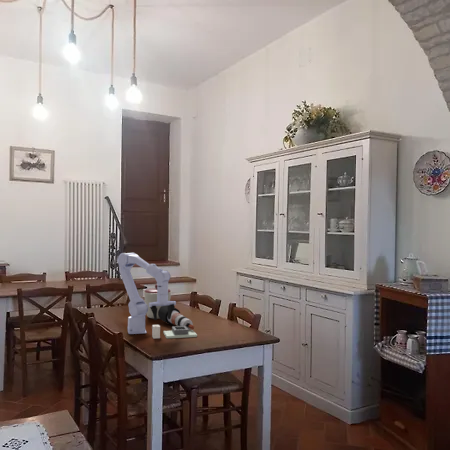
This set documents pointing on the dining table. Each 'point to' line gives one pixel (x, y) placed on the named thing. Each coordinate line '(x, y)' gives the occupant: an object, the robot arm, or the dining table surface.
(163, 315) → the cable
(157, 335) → the plug
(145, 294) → the canister
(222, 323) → the dining table surface
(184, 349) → the dining table surface
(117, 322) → the dining table surface
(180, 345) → the dining table surface
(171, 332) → the board
